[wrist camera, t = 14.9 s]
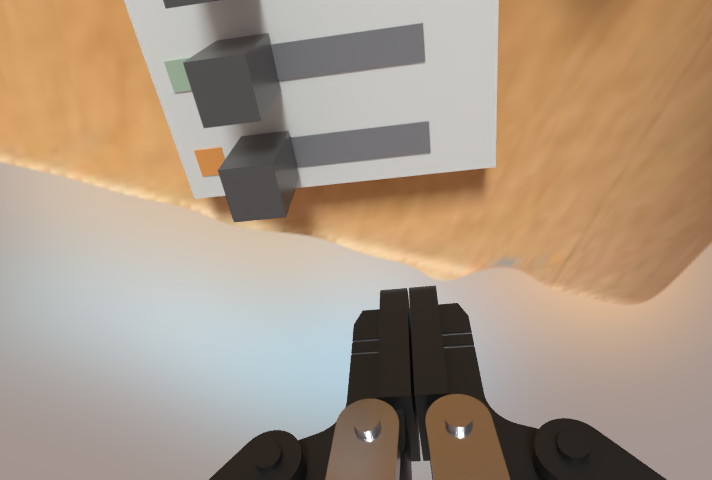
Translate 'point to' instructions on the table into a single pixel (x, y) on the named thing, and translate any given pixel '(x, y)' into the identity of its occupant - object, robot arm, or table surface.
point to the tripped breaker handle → (260, 176)
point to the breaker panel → (326, 83)
